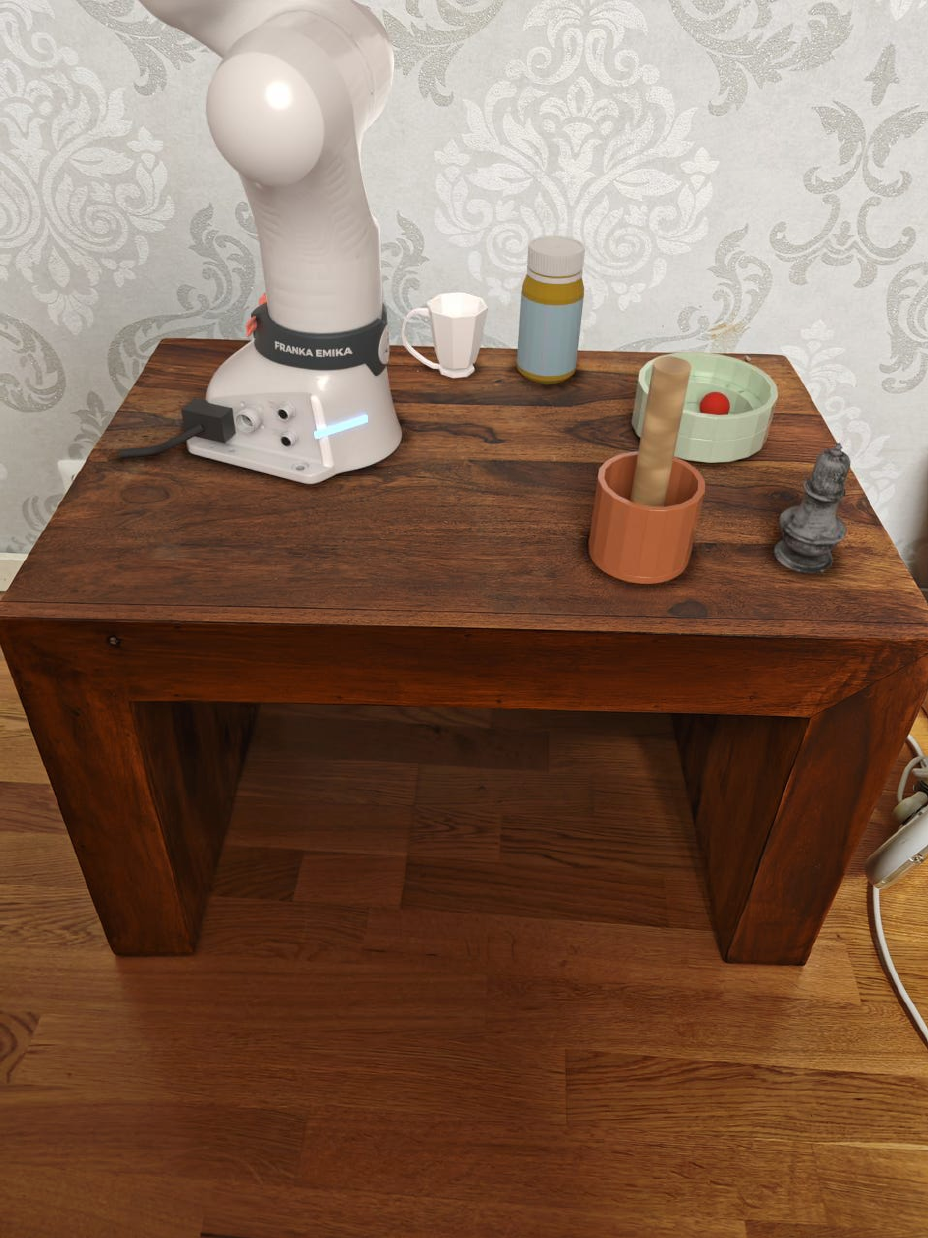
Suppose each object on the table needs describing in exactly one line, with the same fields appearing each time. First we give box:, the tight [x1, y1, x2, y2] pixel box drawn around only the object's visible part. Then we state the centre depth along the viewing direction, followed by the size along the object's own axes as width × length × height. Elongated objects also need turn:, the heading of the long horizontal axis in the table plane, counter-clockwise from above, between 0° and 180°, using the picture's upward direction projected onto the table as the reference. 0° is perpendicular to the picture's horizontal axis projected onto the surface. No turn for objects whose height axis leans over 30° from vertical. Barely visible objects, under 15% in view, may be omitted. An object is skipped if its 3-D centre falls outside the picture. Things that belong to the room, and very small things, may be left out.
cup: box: [400, 291, 489, 379], centre depth 113 cm, size 7×10×8 cm
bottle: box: [516, 235, 586, 385], centre depth 110 cm, size 7×7×15 cm
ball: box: [699, 392, 730, 415], centre depth 105 cm, size 3×3×3 cm
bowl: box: [631, 351, 779, 464], centre depth 104 cm, size 14×14×6 cm
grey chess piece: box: [773, 442, 852, 574], centre depth 86 cm, size 6×6×12 cm
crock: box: [587, 450, 706, 585], centre depth 87 cm, size 9×9×8 cm
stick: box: [630, 356, 691, 507], centre depth 83 cm, size 3×3×18 cm
